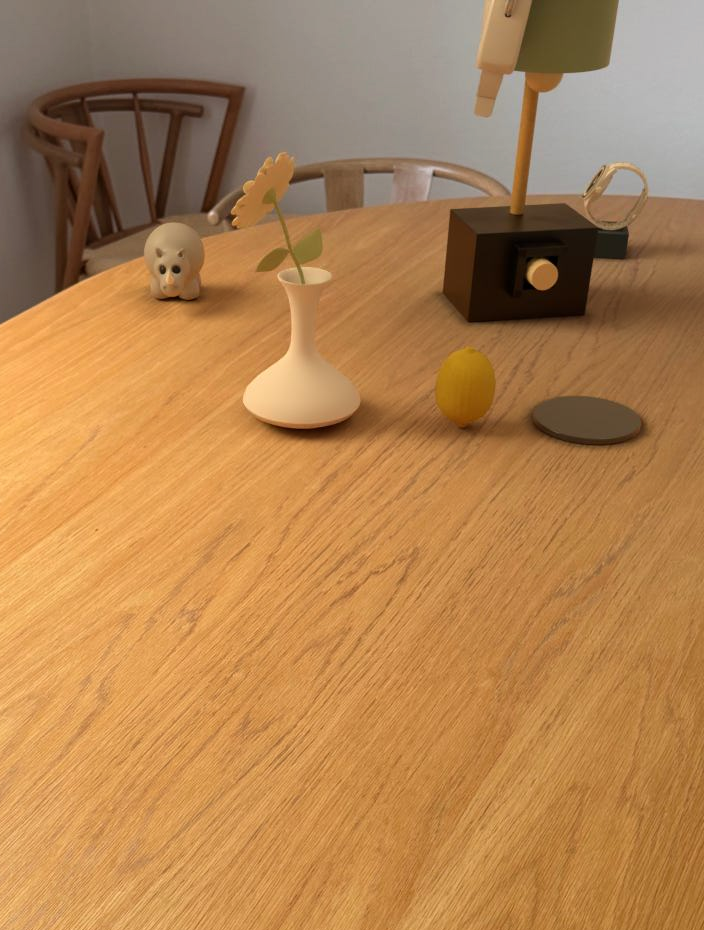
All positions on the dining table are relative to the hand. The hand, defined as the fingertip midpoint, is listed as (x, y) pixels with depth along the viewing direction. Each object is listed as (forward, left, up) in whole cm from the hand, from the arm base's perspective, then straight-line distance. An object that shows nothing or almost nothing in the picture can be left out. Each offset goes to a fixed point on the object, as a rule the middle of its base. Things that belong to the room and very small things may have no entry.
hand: (482, 107), depth 126 cm
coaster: (-11, +21, -24) cm, 34 cm away
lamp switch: (-9, -4, -20) cm, 22 cm away
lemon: (+1, +23, -24) cm, 34 cm away
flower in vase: (+17, +22, -24) cm, 37 cm away
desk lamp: (-7, -12, -24) cm, 28 cm away
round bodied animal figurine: (+33, -10, -24) cm, 42 cm away
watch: (-21, -33, -24) cm, 46 cm away
